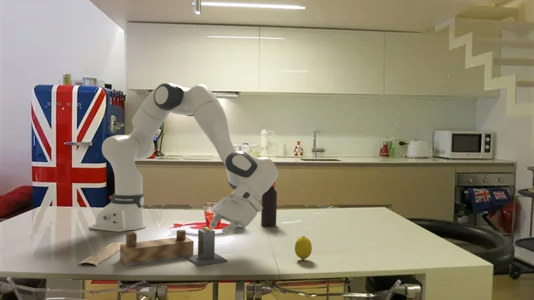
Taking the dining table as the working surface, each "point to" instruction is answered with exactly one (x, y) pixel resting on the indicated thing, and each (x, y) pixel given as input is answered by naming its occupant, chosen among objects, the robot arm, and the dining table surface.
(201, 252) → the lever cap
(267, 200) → the bottle
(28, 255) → the dining table surface
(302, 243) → the lemon
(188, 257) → the pad
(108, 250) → the newspaper
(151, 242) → the plane body
